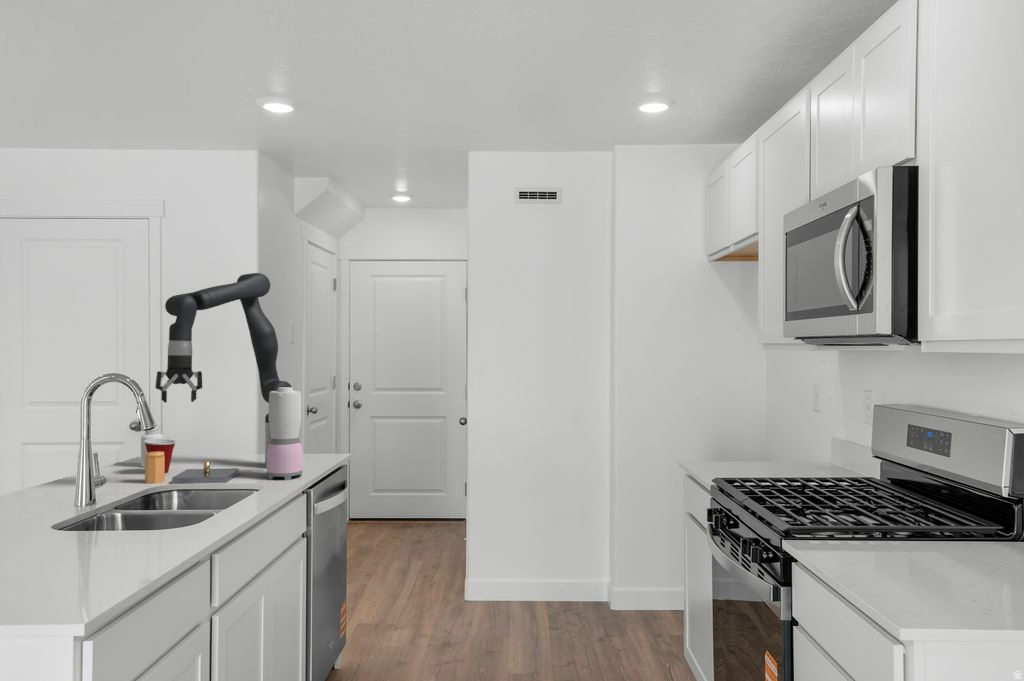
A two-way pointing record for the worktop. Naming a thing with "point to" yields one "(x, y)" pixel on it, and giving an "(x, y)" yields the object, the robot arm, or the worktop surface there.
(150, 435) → the pill bottle
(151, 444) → the plastic cup
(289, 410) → the blender
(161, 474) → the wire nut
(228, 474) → the plate
